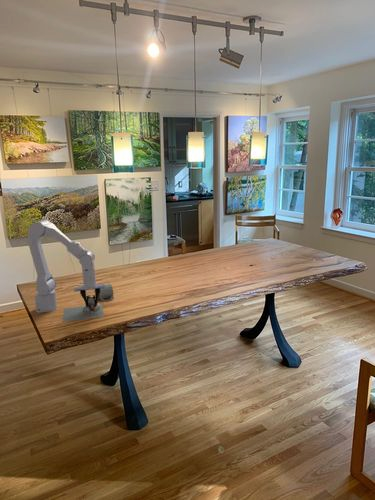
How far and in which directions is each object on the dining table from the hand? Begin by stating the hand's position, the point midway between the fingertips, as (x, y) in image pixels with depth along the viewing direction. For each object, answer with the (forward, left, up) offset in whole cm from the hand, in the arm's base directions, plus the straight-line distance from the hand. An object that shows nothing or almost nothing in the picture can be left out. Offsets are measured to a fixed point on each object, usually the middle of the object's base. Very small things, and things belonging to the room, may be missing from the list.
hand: (91, 304), depth 182 cm
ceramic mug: (+7, +13, -3) cm, 15 cm away
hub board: (-4, -4, -3) cm, 6 cm away
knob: (0, 0, -1) cm, 1 cm away
